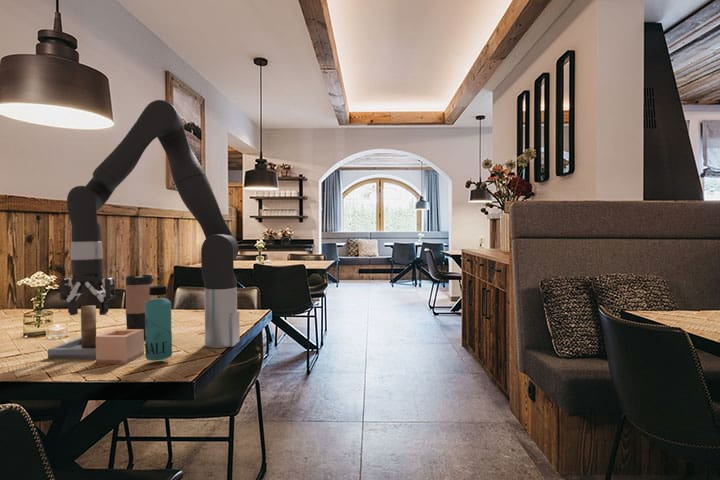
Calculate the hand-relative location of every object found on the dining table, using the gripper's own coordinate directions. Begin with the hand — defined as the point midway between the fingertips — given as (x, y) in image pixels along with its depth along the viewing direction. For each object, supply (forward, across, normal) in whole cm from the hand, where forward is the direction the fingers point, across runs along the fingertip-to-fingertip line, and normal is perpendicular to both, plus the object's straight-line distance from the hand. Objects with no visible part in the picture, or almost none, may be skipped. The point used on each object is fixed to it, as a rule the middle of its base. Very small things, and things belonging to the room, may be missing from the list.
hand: (88, 314), depth 113 cm
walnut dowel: (+10, 0, 0) cm, 10 cm away
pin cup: (+11, -13, +6) cm, 18 cm away
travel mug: (+11, -6, -15) cm, 19 cm away
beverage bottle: (+11, -25, +9) cm, 29 cm away
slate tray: (+11, 0, 0) cm, 11 cm away
